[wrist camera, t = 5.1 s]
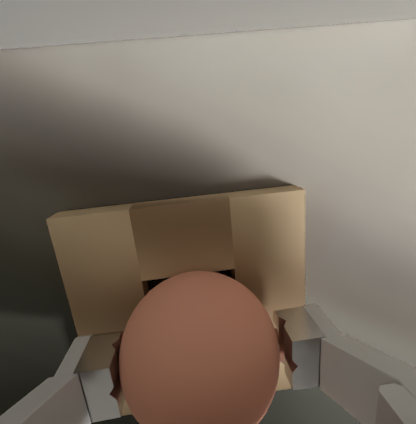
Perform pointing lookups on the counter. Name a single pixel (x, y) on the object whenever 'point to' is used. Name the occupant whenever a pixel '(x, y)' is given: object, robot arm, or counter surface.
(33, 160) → the counter surface
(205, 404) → the ball
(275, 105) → the counter surface
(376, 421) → the robot arm
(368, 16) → the divider
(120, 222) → the square block with hole
